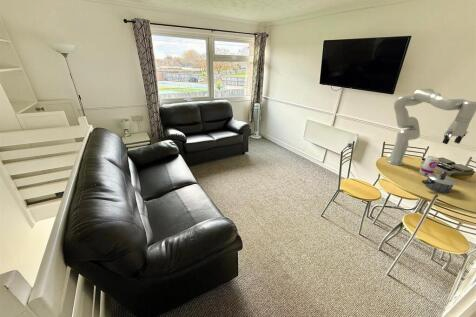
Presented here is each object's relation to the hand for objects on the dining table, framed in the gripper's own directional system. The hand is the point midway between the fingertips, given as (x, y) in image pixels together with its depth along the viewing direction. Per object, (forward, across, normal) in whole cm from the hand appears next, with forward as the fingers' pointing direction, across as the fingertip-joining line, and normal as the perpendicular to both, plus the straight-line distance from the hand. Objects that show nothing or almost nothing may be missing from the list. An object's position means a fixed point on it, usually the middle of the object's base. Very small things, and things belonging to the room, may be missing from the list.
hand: (450, 143), depth 148 cm
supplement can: (+32, -5, -10) cm, 34 cm away
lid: (+25, +5, +9) cm, 27 cm away
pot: (+32, +7, +9) cm, 34 cm away
